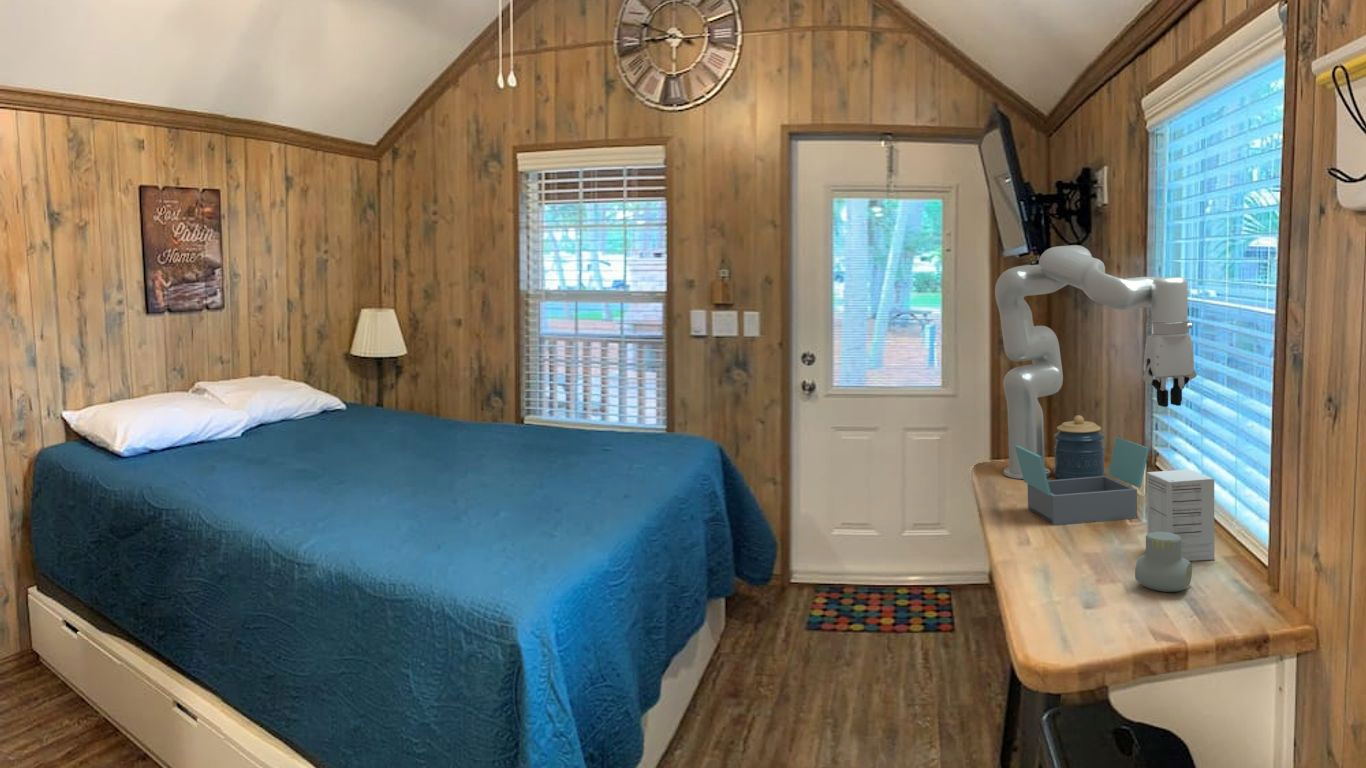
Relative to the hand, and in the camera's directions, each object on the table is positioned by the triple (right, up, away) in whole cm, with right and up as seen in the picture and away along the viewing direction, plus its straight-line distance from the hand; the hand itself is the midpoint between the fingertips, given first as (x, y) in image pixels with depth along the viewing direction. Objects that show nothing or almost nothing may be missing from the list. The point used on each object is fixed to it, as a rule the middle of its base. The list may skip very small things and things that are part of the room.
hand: (1169, 404), depth 210 cm
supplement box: (-14, -30, -29) cm, 44 cm away
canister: (-5, -21, +36) cm, 42 cm away
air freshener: (-26, -34, -45) cm, 62 cm away
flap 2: (-10, -14, +1) cm, 17 cm away
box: (-20, -27, +3) cm, 33 cm away
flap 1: (-32, -16, +1) cm, 36 cm away
